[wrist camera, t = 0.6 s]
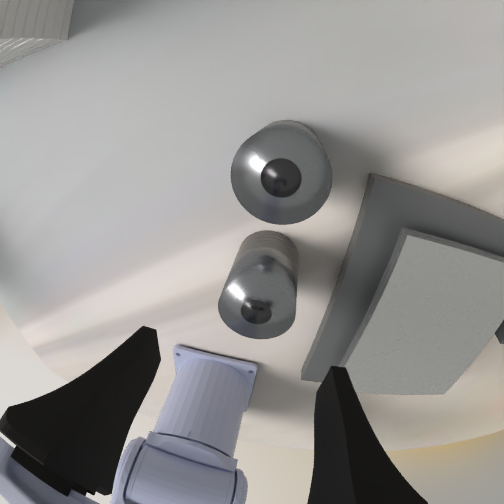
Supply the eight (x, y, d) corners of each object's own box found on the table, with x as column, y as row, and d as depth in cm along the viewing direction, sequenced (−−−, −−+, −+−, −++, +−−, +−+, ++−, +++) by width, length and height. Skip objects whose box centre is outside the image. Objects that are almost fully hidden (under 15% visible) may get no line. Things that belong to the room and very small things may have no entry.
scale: (441, 380, 23) (449, 408, 20) (301, 369, 24) (299, 403, 21) (532, 233, 14) (558, 257, 11) (370, 172, 15) (388, 192, 12)
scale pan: (440, 380, 21) (444, 394, 20) (329, 373, 22) (330, 390, 20) (520, 259, 14) (531, 272, 12) (398, 221, 15) (407, 235, 13)
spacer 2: (291, 286, 20) (286, 345, 15) (235, 276, 20) (216, 331, 16) (304, 237, 18) (303, 290, 13) (242, 225, 18) (220, 273, 14)
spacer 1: (314, 192, 17) (319, 233, 12) (248, 180, 17) (225, 215, 12) (327, 127, 14) (341, 139, 10) (257, 114, 15) (236, 120, 10)
